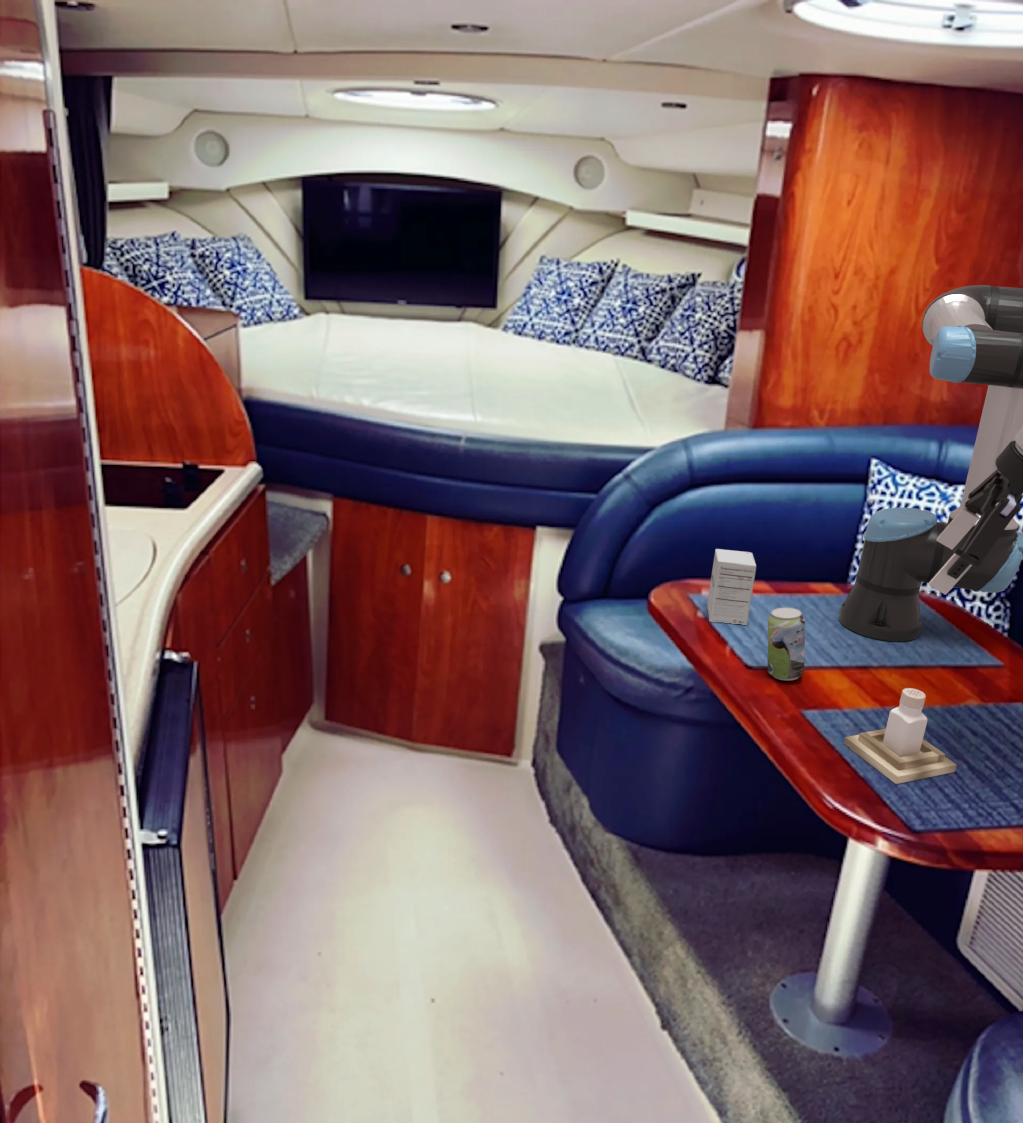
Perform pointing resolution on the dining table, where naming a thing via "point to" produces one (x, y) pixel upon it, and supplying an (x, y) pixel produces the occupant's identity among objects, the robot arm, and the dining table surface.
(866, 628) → the robot arm
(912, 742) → the pepper shaker
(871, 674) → the dining table surface
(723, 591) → the supplement box
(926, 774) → the tray
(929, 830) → the dining table surface
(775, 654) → the beverage can
